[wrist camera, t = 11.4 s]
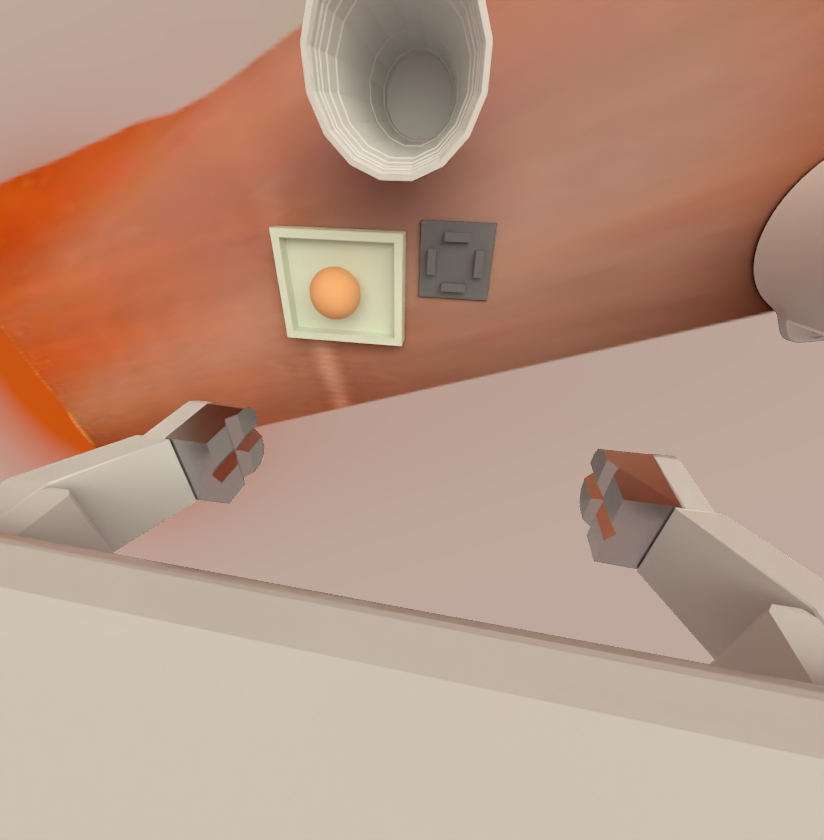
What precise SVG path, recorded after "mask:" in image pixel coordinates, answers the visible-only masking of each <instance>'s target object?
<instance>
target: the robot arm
mask: <svg viewBox="0 0 824 840" xmlns="http://www.w3.org/2000/svg"><path fill="white" fill-rule="evenodd" d="M754 278H755V283H756V286H757V289H758V291H759V293H760V295H761V296H762V298H763V299H764V300H765V301H766V302H767V303H768V304H769V305H770V306H771V307H772V309H773V310H774V311H775V312H776V314H777V316H778V324H779V330H780V333H781V335H782V337H783V338H784V339H786V340H789V341H792V342H798V343H801V342H812V341H822V340H824V160H823V161H822V162H821V163H820V164H818V165H817V166H816V167H815V168H813V169H812V170H811V171H810V172H809V173H808V174H807V175H805V176H804V177H803V178H802V179H801V180H800V181H799V182H798V183H797V184H796V185H795V186H794V187H793V188H792V190H791V191H790V192H789V193H788V194H787V195H786V196H785V198H784V199H783V200H782V201H781V203H780V204H779V205H778V207H777V208H776V210H775V211H774V213H773V214H772V216H771V217H770V219H769V221H768V223H767V224H766V226H765V228H764V230H763V233H762V235H761V237H760V240H759V243H758V246H757V249H756V253H755V259H754ZM257 423H258V420H257V417H256V414H255V411H254V410H252V409H251V408H249V407H243V406H236V405H229V404H222V403H215V402H214V403H212V402H207V401H198V400H195V401H189V402H187V403H186V404H185V405H183V406H182V407H181V408H179V409H178V410H177V411H175V412H174V413H173V414H171V415H170V416H169V417H167V418H166V419H164V420H163V421H162V422H160V423H159V424H158V425H156V426H155V427H154V428H152V429H151V430H150V431H148V432H147V433H146V434H144V435H143V436H140V435H136V436H133V437H130V438H127V439H124V440H121V441H118V442H115V443H112V444H109V445H106V446H103V447H100V448H97V449H94V450H91V451H88V452H85V453H82V454H79V455H76V456H73V457H70V458H67V459H64V460H62V461H58V462H55V463H53V464H49V465H46V466H43V467H40V468H37V469H35V470H31V471H28V472H26V473H23V474H20V475H17V476H14V477H11V478H8V479H7V480H5V481H4V482H2V483H0V840H824V580H822V579H821V578H819V577H818V576H816V575H815V574H813V573H812V572H810V571H809V570H807V569H806V568H804V567H803V566H801V565H800V564H798V563H797V562H795V561H794V560H792V559H791V558H789V557H787V556H786V555H784V554H783V553H782V552H780V551H779V550H777V549H775V548H774V547H773V546H771V545H770V544H768V543H767V542H765V541H763V540H762V539H760V538H759V537H757V536H756V535H754V534H753V533H751V532H750V531H748V530H747V529H745V528H743V527H742V526H741V525H739V524H738V523H736V522H734V521H733V520H732V519H730V518H729V517H727V516H726V515H724V514H719V513H715V512H714V511H713V509H712V508H711V506H710V505H709V503H708V502H707V500H706V499H705V498H704V496H703V494H702V493H701V491H700V490H699V488H698V487H697V485H696V484H695V482H694V481H693V479H692V478H691V476H690V475H689V473H688V472H687V470H686V469H685V467H684V466H683V464H682V463H681V461H680V460H679V459H678V458H676V457H674V456H668V455H656V454H640V453H631V452H622V451H612V450H603V449H598V450H597V451H596V453H595V454H594V456H593V458H592V461H591V466H592V469H593V473H592V474H590V475H589V476H587V477H586V478H585V479H584V482H583V485H582V488H581V494H580V510H581V514H582V518H583V520H584V521H586V523H587V524H589V525H590V526H591V527H590V529H589V531H588V534H587V537H588V541H589V544H590V548H591V552H592V555H593V559H594V561H597V562H602V563H607V564H612V565H618V566H624V567H629V568H634V569H638V570H637V572H638V573H639V574H640V575H641V576H642V577H643V578H644V580H645V581H646V582H647V583H648V584H649V585H650V586H651V587H652V589H653V590H654V591H655V592H656V593H657V594H658V595H659V597H660V598H661V599H662V600H663V601H664V602H665V603H666V605H667V606H668V607H669V608H670V609H671V610H672V611H673V612H674V614H675V615H676V616H677V617H678V618H679V619H680V620H681V621H682V623H683V624H684V625H685V626H686V627H687V628H688V630H689V631H690V632H691V633H692V634H693V635H694V636H695V637H696V639H697V640H698V641H699V642H700V643H701V644H702V645H703V646H704V648H705V649H706V650H707V651H708V652H709V653H710V654H711V655H712V657H713V658H714V659H715V660H714V661H713V662H712V663H711V664H704V663H699V662H694V661H689V660H683V659H678V658H672V657H667V656H661V655H656V654H651V653H646V652H640V651H635V650H630V649H624V648H619V647H613V646H608V645H603V644H597V643H591V642H587V641H581V640H576V639H570V638H565V637H560V636H554V635H549V634H543V633H538V632H532V631H527V630H522V629H516V628H511V627H505V626H500V625H495V624H489V623H483V622H478V621H473V620H468V619H462V618H457V617H451V616H445V615H440V614H434V613H429V612H424V611H419V610H413V609H408V608H402V607H397V606H391V605H386V604H380V603H376V602H370V601H365V600H359V599H354V598H349V597H343V596H338V595H333V594H328V593H322V592H317V591H312V590H306V589H301V588H296V587H290V586H285V585H280V584H274V583H269V582H263V581H258V580H253V579H248V578H242V577H237V576H231V575H226V574H220V573H215V572H210V571H205V570H199V569H194V568H189V567H183V566H177V565H173V564H167V563H162V562H156V561H151V560H146V559H140V558H135V557H129V556H124V555H118V554H114V553H113V552H114V551H116V550H118V549H119V548H121V547H123V546H124V545H126V544H127V543H129V542H131V541H132V540H134V539H136V538H137V537H139V536H141V535H142V534H144V533H145V532H147V531H148V530H150V529H152V528H154V527H155V526H157V525H158V524H160V523H162V522H163V521H165V520H167V519H168V518H170V517H171V516H173V515H175V514H176V513H178V512H180V511H181V510H183V509H185V508H186V507H188V506H189V505H191V504H192V503H194V502H196V499H197V500H205V501H212V502H220V503H230V502H231V501H232V499H233V498H234V497H235V496H236V494H237V493H238V492H239V491H240V489H241V488H242V487H243V486H244V484H245V483H244V477H245V476H247V475H249V474H251V473H253V472H255V470H256V469H257V468H258V466H259V465H260V463H261V460H262V457H263V454H264V444H263V439H262V436H261V435H260V434H259V433H258V432H257V431H256V430H255V429H254V428H255V427H256V425H257Z"/></svg>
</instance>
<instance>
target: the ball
mask: <svg viewBox="0 0 824 840" xmlns="http://www.w3.org/2000/svg"><path fill="white" fill-rule="evenodd" d="M360 297H361V292H360V287H359V284H358V282H357V280H356V278H355V277H354V276H353V275H352V274H351V273H350V272H349V271H347V270H345V269H343V268H340V267H327V268H324V269H322V270H320V271H319V272H318V273H317V274H316V275H315V276H314V277H313V279H312V281H311V284H310V299H311V302H312V304H313V306H314V307H315V309H316V310H317V311H318V312H319V313H320V314H322V315H323V316H325V317H327V318H330V319H343V318H346V317H348V316H350V315H351V314H352V313H354V311H355V310H356V309H357V307H358V305H359V302H360Z"/></svg>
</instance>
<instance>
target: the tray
mask: <svg viewBox="0 0 824 840" xmlns="http://www.w3.org/2000/svg"><path fill="white" fill-rule="evenodd" d="M269 230H270V236H271V242H272V247H273V253H274V259H275V265H276V271H277V277H278V283H279V289H280V295H281V300H282V306H283V312H284V318H285V324H286V330H287V336H288V337H291V338H304V339H317V340H329V341H342V342H355V343H367V344H380V345H392V346H402V344H403V342H404V340H405V276H406V231H392V230H370V229H348V228H326V227H304V226H282V225H278V226H273V227H269ZM327 267H340V268H343V269H345V270H347V271H349V272H350V273H351V274H352V275H353V276H354V277H355V278H356V280H357V282H358V284H359V287H360V292H361V297H360V302H359V305H358V307H357V309H356V310H355V311H354V313H352V314H351V315H350V316H348V317H346V318H343V319H330V318H327V317H325V316H323V315H322V314H320V313H319V312H318V311H317V310H316V309H315V307H314V306H313V304H312V302H311V299H310V284H311V281H312V279H313V277H314V276H315V275H316V274H317V273H318V272H319V271H320V270H322V269H324V268H327Z"/></svg>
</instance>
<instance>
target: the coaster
mask: <svg viewBox="0 0 824 840" xmlns="http://www.w3.org/2000/svg"><path fill="white" fill-rule="evenodd" d="M496 226H497V223H479V222H456V221H432V220H422V221H421V250H420V280H419V296H425V297H440V298H456V299H471V300H487V293H488V286H489V278H490V271H491V264H492V256H493V249H494V241H495V234H496Z"/></svg>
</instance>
